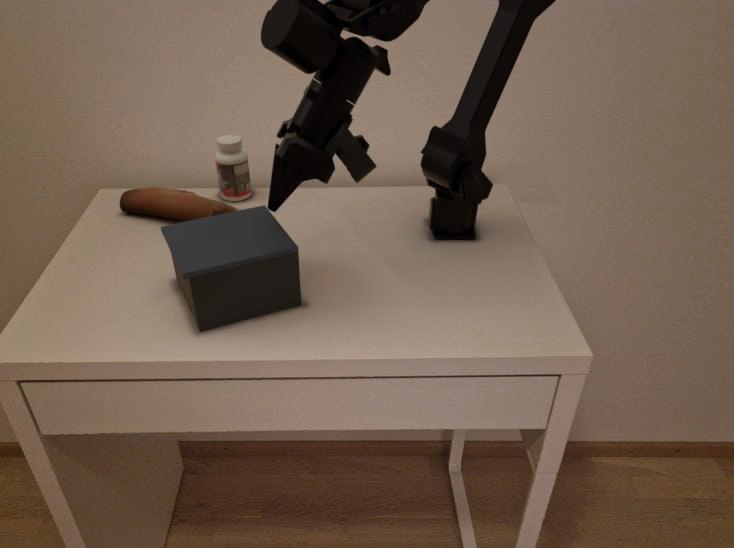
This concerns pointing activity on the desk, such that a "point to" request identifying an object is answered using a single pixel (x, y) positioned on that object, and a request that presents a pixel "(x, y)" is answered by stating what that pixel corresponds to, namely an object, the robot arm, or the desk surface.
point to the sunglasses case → (171, 204)
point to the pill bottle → (232, 169)
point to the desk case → (242, 291)
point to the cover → (227, 241)
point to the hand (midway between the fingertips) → (271, 209)
